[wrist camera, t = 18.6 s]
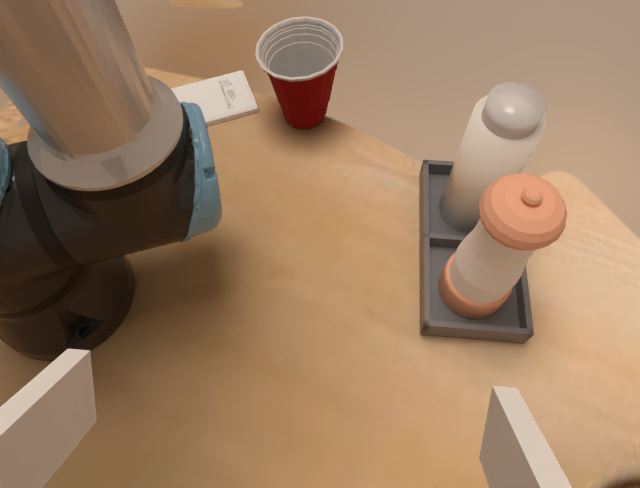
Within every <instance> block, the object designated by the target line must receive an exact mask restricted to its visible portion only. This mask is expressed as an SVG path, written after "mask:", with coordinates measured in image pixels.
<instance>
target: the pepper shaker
mask: <svg viewBox="0 0 640 488" xmlns="http://www.w3.org/2000/svg"><path fill="white" fill-rule="evenodd" d="M479 212H480V219H479V221H478V223H477V225H476V227H475V228H474V229H473V230H472V231H471V232H470V233H469V234H468V235H467V236H466V237H465V239H464V240H463V241H462V242H461V243H460V245H459V246H458V248H457V250H456V252H455V253H454V254H452V256H451V257H450V258H449V260H448V261H447V263H446V265H445V267H444V269H443V271H442V273H441V275H440V279H439V293H440V295H441V297H442V300H443V302H444V303H445V304H446V305H447V306H448V308H449V309H450V310H452V311H453V312H455V313H456V314H458V315H460V316H463V317H466V318H469V319H481V318H485V317H488V316H490V315H492V314H493V313H494V312H496V311H497V310H498V309H499V308H500V307H501V305H502V304H503V303H504V302H505V301H506V300H507V298H508V297H509V295H510V294H511V292H512V287H513V286H514V285H515V284H516V283H517V281H518V280H519V278H520V277H521V275H522V273H523V270H524V268H525V265H526V263H527V261H528V258H529V257H530V256H531V255H532V253H533V252H534V251H535V250H536V249H539V248H543V247H546V246H548V245H550V244H551V243H553V242H554V241H556V240H557V239H558V238H559V237H560V235H561V233H562V232H563V230H564V228H565V224H566V218H567V211H566V207H565V203H564V200H563V198H562V197H561V195H560V193H559V192H558V190H557V189H556V188H555V187H554V186H553V185H551V184H550V183H549V182H548V181H546V180H544V179H542V178H540V177H538V176H533V175H530V174H511V175H507V176H503V177H500V178H499V179H497V180H496V181H494V182H492V183H491V184H490V185H489V186H488V187H487V188H486V189H485V191H484V192H483V193H482V195H481V198H480V202H479Z"/></svg>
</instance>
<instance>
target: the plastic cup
mask: <svg viewBox="0 0 640 488" xmlns="http://www.w3.org/2000/svg"><path fill="white" fill-rule="evenodd" d="M342 52H343V37H342V35H341V34H340V32H339V31H338V30H337V28H336V27H335V26H334V25H332V24H330V23H329V22H327V21H325V20H323V19H319V18H313V17H296V18H289V19H287V20H284V21H282V22H279V23H276V24H274V25H273V26H272V27H270V28H269V29H268V30H267V31H265V32H264V33H263V34H262V36H261V37H260V39H259V41H258V43H257V44H256V59H257V61H258V62H259V64H260V66H261V68H262V69H263V70H264V71H265V72H267V74H268V75H269V77H270V80H271V83H272V85H273V88H274V91H275V93H276V96H277V99H278V101H279V103H280V105H281V108H282V111H283V114H284V116H285V118H286V120H287V121H288V123H289V124H291V125H292V126H293V127H296V128H300V129H310V128H313V127H315V126H317V125H318V124H320V123H321V122H322V120H323V118H324V116H325V114H326V110H327V106H328V102H329V100H330V95H331V90H332V85H333V80H334V75H335V71H336V69H337V64H338V61H339V58H340V56H341V54H342Z"/></svg>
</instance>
